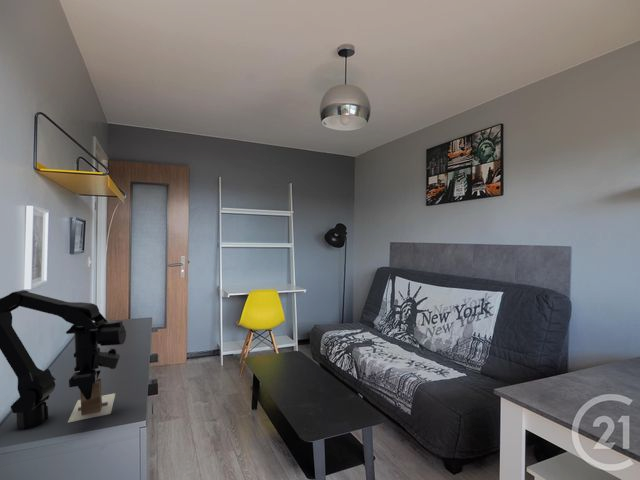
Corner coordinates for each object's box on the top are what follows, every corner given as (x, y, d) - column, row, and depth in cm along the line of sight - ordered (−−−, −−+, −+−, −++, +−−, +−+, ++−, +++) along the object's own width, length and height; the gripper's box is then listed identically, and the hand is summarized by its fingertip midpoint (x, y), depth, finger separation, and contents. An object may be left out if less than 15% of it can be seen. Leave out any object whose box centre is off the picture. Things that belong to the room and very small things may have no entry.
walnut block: (100, 411, 114) (99, 382, 114) (81, 415, 111) (80, 386, 111) (102, 406, 117) (100, 378, 117) (83, 410, 115) (82, 381, 115)
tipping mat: (110, 416, 112) (110, 410, 112) (67, 425, 107) (67, 419, 107) (115, 395, 128) (115, 390, 128) (78, 402, 123) (77, 397, 123)
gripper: (114, 350, 104) (116, 405, 104) (119, 335, 121) (121, 383, 121) (67, 357, 100) (69, 414, 100) (80, 340, 117) (82, 389, 117)
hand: (88, 399), depth 110 cm, fingers closed
